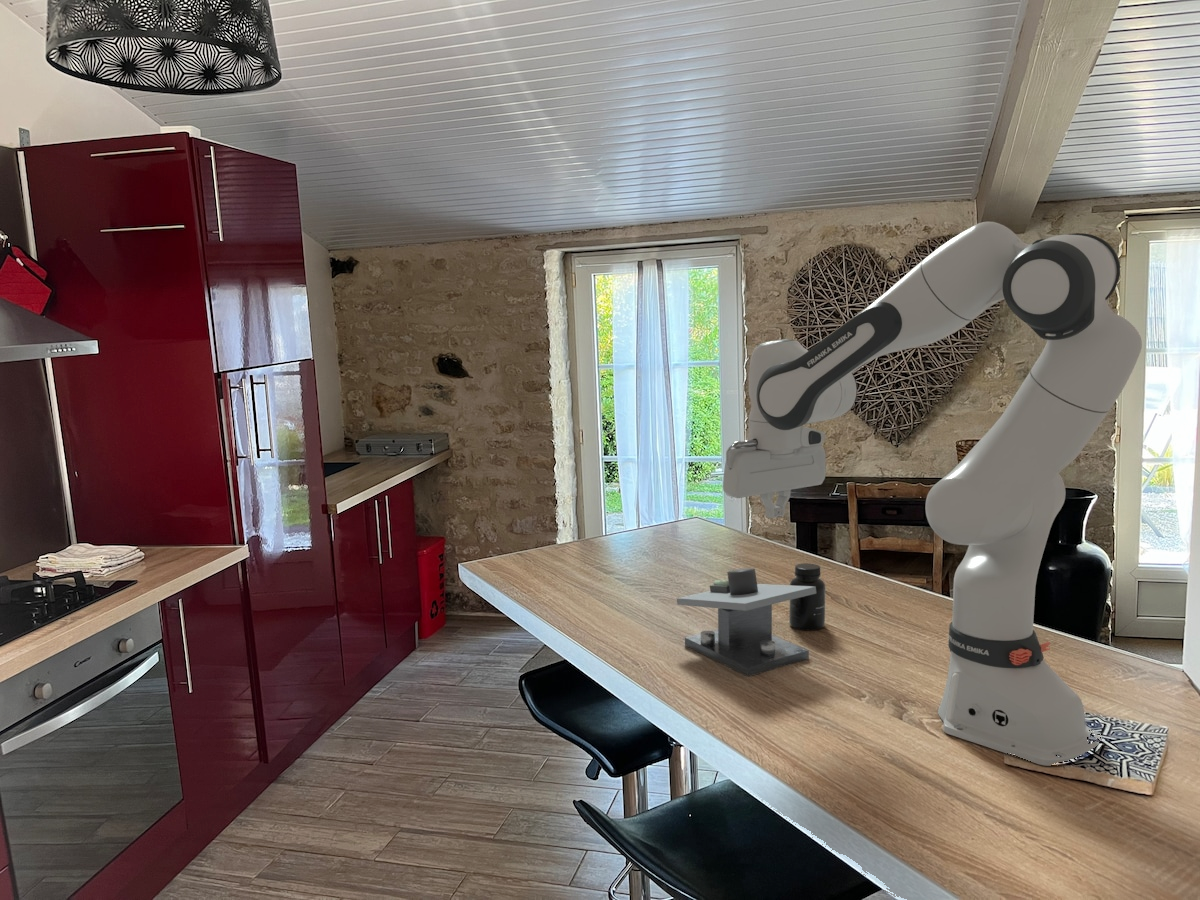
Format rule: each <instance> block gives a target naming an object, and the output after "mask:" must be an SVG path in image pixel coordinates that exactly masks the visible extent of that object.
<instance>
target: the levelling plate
mask: <svg viewBox="0 0 1200 900" xmlns="http://www.w3.org/2000/svg"><path fill="white" fill-rule="evenodd" d="M726 573H727V574H726V575H727V580H724V579H720V580H716V579H715V580H714V581H713V584H712V585H711V584H710V585H709V590H707V591H703V592H698V593H694V594H690V595H686V596H681V597H677V598H676V605H677V606H685V607H686V606H688V607H689V606H690V607H699V608H711V609H718V608H719V609H732V610H744V611H747V610H751V609H755V608H759V607H763V606H767V605H771V604H772V605H774V604H779V603H782V602H787V601H790V600H792V599H796V598H800V597H804V596H808V595H812V594H816V587H814V586H793V585H790V584H786V585H785V584H767V583H758V582H757V573H756V568H755V567H753V568H752V567H748V568H737V569H733V570H728V571H727V572H726Z"/></svg>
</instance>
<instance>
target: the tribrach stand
mask: <svg viewBox="0 0 1200 900" xmlns="http://www.w3.org/2000/svg"><path fill="white" fill-rule="evenodd" d="M772 605H773V604H771V605H767V606H763V607H759V608H755V609H751V610H747V611H744V610H732V609H719V608H717V626H718V627H717V629H712V630H703V631H701V632H700V633H696V634H694V635H690V636H685V637H684V646H685V647H686V648H688V649H691V650H693V651H695V652H697V653H699V654H701V655H704V656H706V657H707V658H709V659H712V660H713V661H715V662H716V663H719V664H721V665H724V666H725V667H728V668H729V669H731V670H734V671H735V672H738V673H739V674H742V675H744V676H746V677H752V676H754V675H759V674H761V673H762V674H763V673H765V672H768V671H772V670H775V669H778V668H783V667H787V666H789V665H792V664H796V663H800V662H802V661H806V660H809V659H810V649H807V648H804V647H802V646H800V645H798V644H795V643H792V642H790V641H788V640H785V639H783V638H780V637H778V636H776V635H773V629H772V628H773V626H772V625H773V617H772V616H773V611H772V610H773V606H772Z"/></svg>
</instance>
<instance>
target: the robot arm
mask: <svg viewBox="0 0 1200 900" xmlns="http://www.w3.org/2000/svg"><path fill="white" fill-rule="evenodd" d="M1119 259H1120V258H1119V256H1118V254H1117V252H1116V250H1115V249H1114V248H1113V246H1112V245H1110V243H1109V242H1108V241H1106V240H1104V239H1102V238H1101V237H1100V236H1096V235H1093V234H1090V233H1085V232H1084V233H1083V232H1081V233H1079V232H1078V233H1077V232H1076V233H1067V234H1059V235H1054V236H1051V237H1047V238H1041V239H1037V240H1035V241H1033V242H1032V243H1031V244H1029V243H1025V242H1024V241H1022V240H1021V239H1020V237H1018V235H1017V234H1016V233H1015V232H1014V231H1013V230H1012V229H1010V228H1009V227H1007V226H1006V225H1004V224H1001V223H999V222H995V221H983V222H978V223H976V224H975V225H973V226H971V227H968V228H967V229H966V230H964V231H961V232H960V233H958V234H957V235H955V236H954V237H952V238H950V239H949V240H948V241H946V242H944V243H942V244H941V245H940V246H939V247H937V248H936V249H935V250H934V251H933V252H931V253H929V255H927V256H926V257H925V258H923V260H922V261H920V262H919V263H918V264H916V265H915V266H914V267H913V268H912V269H911V270H910V271H908V272H907V273H906V274H905V275H904V276H903V277H902V278H900V279H899V280H898V281H897V282H896V283H894V284H893V285H892V286H890V288H889V289H888V290H886V291H885V292H884V293H883V294H882V295H880V296H879V297H878V298H877V299H876V300H874V301H873V302H871V304H869V305H868V306H867V307H866V308H864V309H863V310H862V311H860V312H859V313H858V314H856V315H855V316H854V317H853V318H851V319H850V320H848V321H847V322H845V323H844V324H842V325H841V326H840V327H839V328H837V329H835V331H833V332H832V333H830V334H829V335H828V336H826V337H825V338H824V339H822V340H821V341H820V342H819V343H817V344H815V346H813V347H812V348H811V349H809V350H808V349H807V348H805V347H804V346H803V345H802V344H801V343H800V342H799V341H798V340H795V339H793V338H787V339H785V338H784V339H778V340H771V341H770V340H769V341H767V342H763V343H761V344H758V345H757V346H755V347H754V349H753V351H752V354H751V356H750V361H749V368H748V369H749V370H748V396H749V399H750V412H749V415H748V439H746V440H743V441H741V440H738V441H734V442H732V444H731V445H729V447H728V448H727V450H726V452H725V455H726V456H725V464H724V472H723V480H722V490H723V492H724V493H725V495H726V496H728V497H731V498H734V499H742V498H748V497H754V496H759V500H760V501H761V503H762V504H763V507H765V508H764V509H765V511H764V513H765V514H764V515H765V517H766V518H768V519H774V518H780V517H781V518H782V517H785V516H786V506H787V504H788V502H789V500H790V497H791V493H792V491H791V490H796V489H803V488H807V487H814V486H819V485H822V484H823V482H824V481H825V479H826V472H827V460H826V459H827V458H826V451H825V448H824V447H823V444H824V443H825V441H826V434H825V432H824V431H821V430H818V429H815V428H811V427H807V426H805V425H811V424H815V423H822V422H824V421H830V420H834V419H838V418H840V417H841V416H844V415H846V414H848V413H849V412H850V411H851V410H852V409H853V407H854V405H855V403H856V400H857V397H858V395H857V394H858V386H857V385H858V384H857V380H856V377H855V375H854V374H853V373H854V372H855V371H856V370H858V369H859V368H860V367H862V366H863V365H866V364H867V363H869V362H870V361H873V360H875V359H876V358H880V357H882V356H886V355H888V354H892V353H895V352H900V351H904V350H909V349H910V350H911V349H914V348H918V347H923V346H928V345H931V344H934V343H936V342H939V341H941V340H943V339H945V338H947V337H949V336H951V335H952V334H954V333H956V332H958V331H959V330H961V329H962V328H964V327H965V326H967V325H968V324H970V323H971V322H972V321H974V320H975V319H976V318H977V317H979V316H981V315H982V313H984V312H986V310H988V309H990V308H991V307H992V306H993V305H996V304H997V303H999V302H1001V301H1003V300H1004V301H1005V303H1006V304H1007V306H1008V308H1009V309H1010V310H1011V312H1013V315H1015V316H1016V317H1018V319H1020V320H1021V321H1022V322H1024V323H1025V324H1026V325H1028V326H1029V328H1030V329H1032V331H1033V332H1035V334H1037V336H1038V337H1039V338H1041V339H1043V340H1046V343H1045V346H1044V348H1043V350H1042V351H1041V353H1040V355H1039V356H1038V358H1037V360H1036V361H1035V363H1034V364H1033V366H1032V367H1031V368H1030V370H1029V373H1028V374H1027V376H1026V377H1025V379H1024V380H1023V382H1022V383H1021V385H1020V386H1019V388H1018V390H1017V391H1016V393H1015V395H1014V396H1013V398H1012V399H1011V401H1010V403H1008V405H1007V407H1006V408H1005V410H1004V411H1003V413H1002V414H1001V416H1000V417H999V418H998V420H997V421H996V422H995V423H994V424H993V425H992V426H991V427H990V429H989V430H988V431H987V432H986V433H985V434H984V435H983V436H982V437H981V438H980V440H978V442H977V443H976V444H975V445H974V446H973V447H972V448H971V449H970V450H969V451H968V452H967V454H966V455H965V456H964V457H963V458H962V459H961V461H959V463H958V464H957V465H956V466H955V467H954V468H953V469H952V470H951V471H949V472H948V473H947V474H946V475H945V476H944V477H943V478H941V479H940V480H939V481H938V482H936V483H935V484H934V485H933V486H932V487H931V489H930V490H929V491H928V492H927V496H926V499H925V508H924V509H925V516H926V519H927V523H928V524H929V526H930V527H931V529H932V531H933V532H934V533H935V534H936V536H938V537H939V538H940V539H942V540H944V541H945V542H947V543H949V544H954V545H957V546H959V545H961V546H968V547H967V549H966V551H965V555H964V557H963V559H962V560H961V561H960V563H959V564H958V566H957V568H956V570H955V572H954V577H953V589H952V590H953V592H952V594H953V595H952V621H951V622H950V623H949V627H948V644H947V645H948V649H949V652H950V657H949V666H948V673H947V677H946V678H947V679H946V683H945V687H944V692H943V694H942V699H941V702H940V704H939V707H938V709H937V713H938V715H939V717H940V719H941V721H942V722H943V725H942V730H943V732H944V733H945V734H948V735H950V736H953V737H956V738H959V739H962V740H964V741H968V742H971V743H973V744H976V745H981V746H983V747H985V748H989V749H992V750H995V751H998V752H1001V753H1003V754H1007V753H1008V754H1007V755H1010V753H1011V754H1015V755H1016V756H1018V757H1020V758H1019V759H1021V758H1023V760H1024V759H1026V760H1025V761H1027V760H1028V762H1030V761H1031V763H1034V764H1037V765H1039V766H1044V767H1046V766H1047V767H1051V765H1052V764H1054V763H1055V764H1056V763H1057V762H1063V761H1068V760H1070V759H1074V758H1076V757H1079V756H1080V755H1082V754H1084V753H1085V752H1087V751H1089V750H1091V749H1093V748H1095V747H1096V746H1097V745H1099V742H1092V744H1091V741H1090V744H1088V742H1089V740H1088V741H1087V737H1090V734H1091V733H1094V734H1095V735H1094V738H1098V739H1099V740H1100V741H1101V740H1102V737H1103V736H1102V737H1101V739H1100V736H1101V734H1102V733H1101V732H1099V731H1097V730H1095V729H1093V730H1092V732H1091V729H1092V728H1091V727H1089V726H1087V724H1086V713H1085V708H1084V704H1083V701H1082V699H1081V697H1080V696H1079V695H1078V693H1076V692H1075V691H1074V690H1073V689H1072V688H1071V687H1070V686H1069V685H1068V684H1067V683H1066V682H1065V681H1064V680H1063V679H1062V678H1061V676H1060V675H1058V673H1057V672H1055V671H1054V669H1053V668H1051V666H1050V665H1049V664H1048V663H1047V662H1046V661H1045V659H1044V657H1045V656H1044V654H1043V652H1046V651H1049V650H1050V649H1051V648H1050V647H1049V646H1050V645H1051V642H1050V641H1047V642H1044V643H1041V644H1040V641H1039V639H1038V636H1037V633H1036V631H1035V629H1034V618H1035V617H1034V615H1035V600H1036V598H1035V597H1036V585H1037V579H1038V574H1039V569H1040V566H1041V561H1042V560H1043V559H1042V558H1043V556H1044V555H1043V554H1044V551H1045V548H1046V545H1047V541H1048V538H1049V535H1050V531H1051V528H1052V526H1053V523H1054V521H1055V519H1056V517H1057V515H1058V514H1059V512H1060V511H1061V510H1062V507H1063V506H1064V504H1065V500H1066V485H1065V482H1064V480H1063V477H1062V476H1061V474H1060V472H1061V471H1062V470H1063V469H1065V468H1066V467H1067V466H1068V465H1069V464H1071V463H1072V462H1073V461H1075V459H1077V457H1079V455H1080V453H1082V451H1083V449H1084V448H1085V446H1086V445H1087V443H1088V442H1089V441H1090V439H1091V438H1092V436H1093V435H1094V434H1095V432H1096V431H1097V429H1098V428H1099V426H1100V425H1101V423H1102V422H1103V420H1104V419H1105V418H1106V416H1107V415H1108V413H1109V412H1110V410H1111V409H1112V408H1113V406H1114V404H1115V403H1116V401H1117V400H1118V399H1119V396H1120V395H1121V393H1122V392H1123V390H1124V388H1125V386H1126V385H1127V382H1128V380H1129V379H1130V377H1131V375H1132V373H1133V371H1134V369H1135V366H1136V364H1137V362H1138V358H1139V357H1140V354H1141V352H1142V347H1143V346H1142V345H1143V344H1142V337H1141V335H1140V333H1139V331H1138V329H1136V327H1135V326H1134V325H1133V324H1132V323H1131V322H1130V321H1128V320H1127V319H1126V318H1125V317H1123V316H1122V315H1119V314H1117V313H1114V311H1113V310H1112V309H1111V307H1110V306H1109V304H1108V299H1109V298H1110V296H1112V295H1113V293H1114V291H1115V289H1116V288H1117V286H1118V284H1119V281H1120V276H1121V262H1120V260H1119ZM775 494H776V495H777V499H776V500H775V501H776V502H775V504H774V502H773V500H774V499H775ZM772 499H773V500H772ZM1089 730H1090V731H1089ZM1094 730H1095V731H1094ZM1088 731H1089V732H1088ZM1093 731H1094V732H1093ZM1096 731H1097V732H1096ZM1096 734H1100V736H1098V735H1096ZM1092 735H1093V734H1092ZM1091 737H1092V736H1091ZM1056 755H1058V756H1061V757H1056ZM1016 756H1015V757H1016ZM1018 757H1017V758H1018Z"/></svg>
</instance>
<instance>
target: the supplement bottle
mask: <svg viewBox="0 0 1200 900" xmlns="http://www.w3.org/2000/svg"><path fill="white" fill-rule="evenodd" d="M794 566H795V567H794V578H792V579H791V580H790V582H789V585H793V586H814V587H816V594H812V595H808V596H804V597H800V598H796V599H792V600H789V613H788V614H789V616H788V618H789V624H790V627H792V628H794V629H796V630H800V631H818V630H820V629H823V627H825V625H826V624H825V623H826V622H825V621H826V620H825V619H826V584H825V582H824V580H823V579H822V578H820V577H821V566H820V565H819V564H815V563H798V564H796V565H794Z"/></svg>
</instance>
